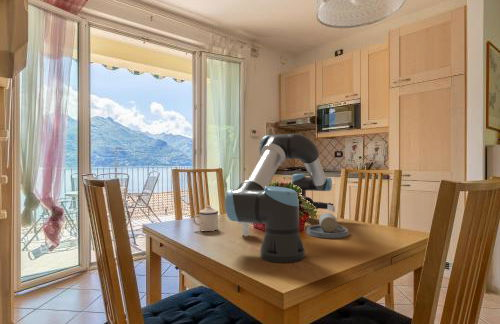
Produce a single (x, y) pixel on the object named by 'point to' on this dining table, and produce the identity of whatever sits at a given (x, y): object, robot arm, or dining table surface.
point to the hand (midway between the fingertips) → (320, 209)
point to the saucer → (318, 232)
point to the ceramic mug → (329, 223)
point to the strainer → (245, 228)
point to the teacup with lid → (208, 219)
